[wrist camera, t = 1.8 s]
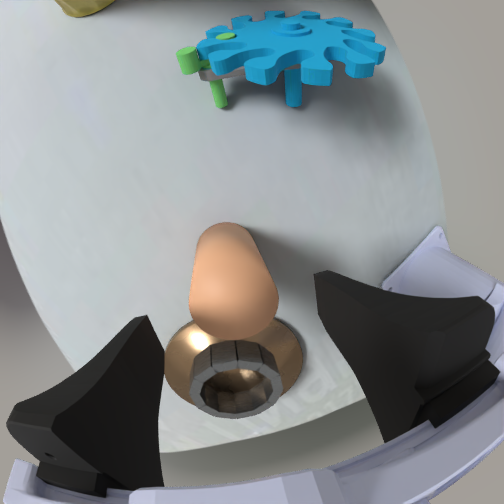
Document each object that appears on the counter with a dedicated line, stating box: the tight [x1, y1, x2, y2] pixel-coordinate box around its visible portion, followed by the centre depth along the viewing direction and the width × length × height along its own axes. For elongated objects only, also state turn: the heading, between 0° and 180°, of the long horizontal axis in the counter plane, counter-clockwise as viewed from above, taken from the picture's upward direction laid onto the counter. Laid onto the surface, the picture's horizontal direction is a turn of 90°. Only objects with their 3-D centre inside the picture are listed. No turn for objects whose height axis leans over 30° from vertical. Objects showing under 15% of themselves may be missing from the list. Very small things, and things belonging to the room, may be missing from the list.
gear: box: [176, 11, 386, 108], centre depth 13 cm, size 11×6×10 cm
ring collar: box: [164, 318, 303, 419], centre depth 21 cm, size 12×12×3 cm
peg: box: [189, 222, 279, 340], centre depth 15 cm, size 4×4×7 cm
